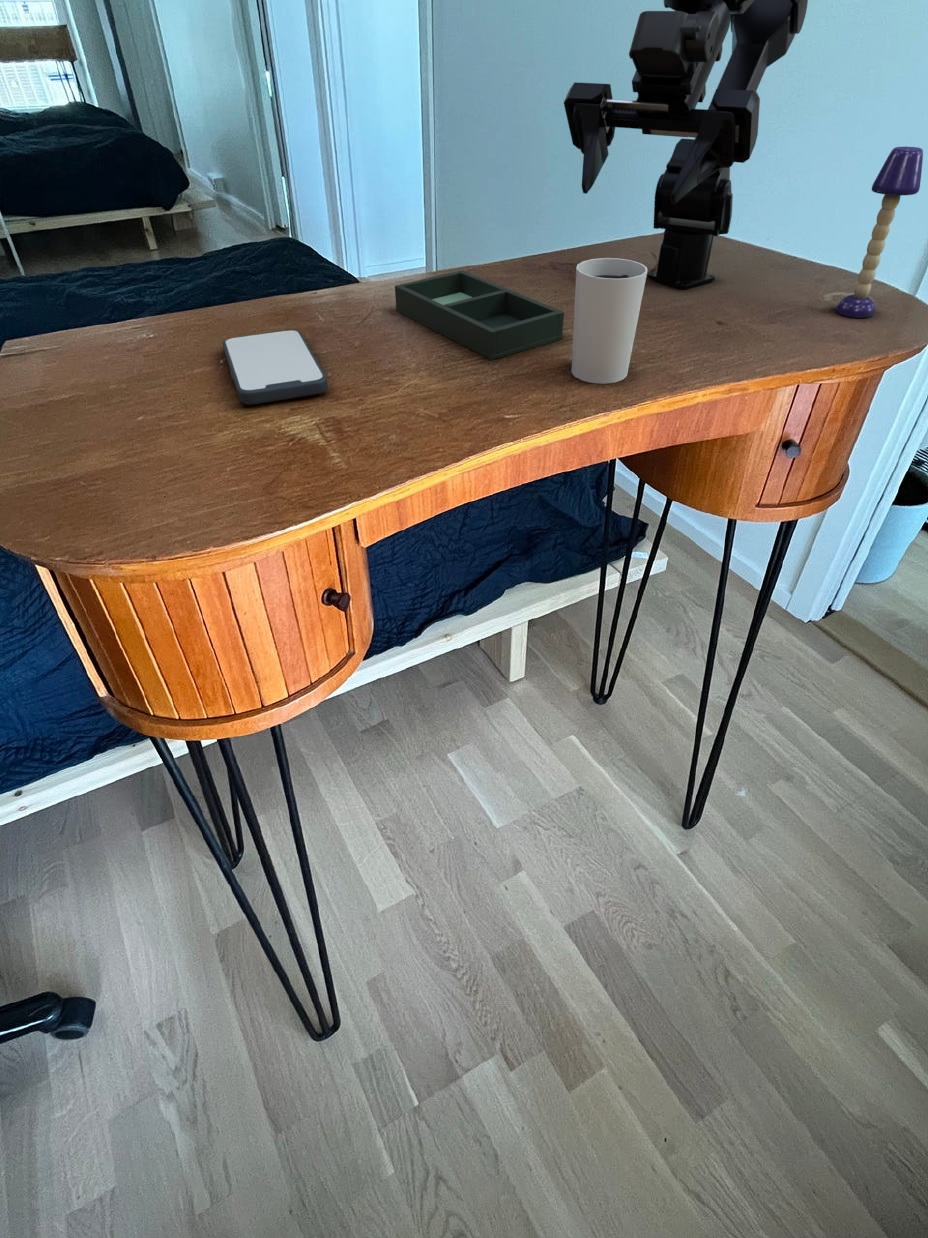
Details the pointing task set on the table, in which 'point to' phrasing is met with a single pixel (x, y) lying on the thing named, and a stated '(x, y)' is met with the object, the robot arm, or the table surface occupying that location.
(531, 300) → the tray
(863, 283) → the toy lamp
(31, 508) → the table surface
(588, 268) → the white cup
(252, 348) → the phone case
